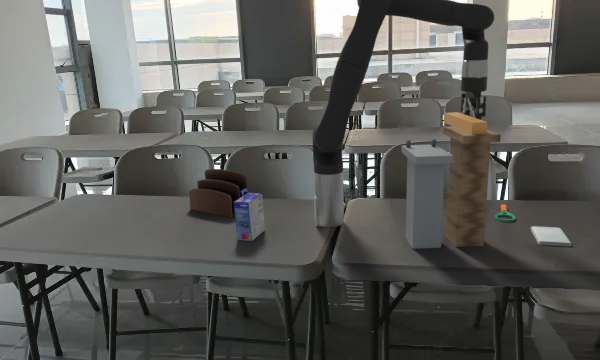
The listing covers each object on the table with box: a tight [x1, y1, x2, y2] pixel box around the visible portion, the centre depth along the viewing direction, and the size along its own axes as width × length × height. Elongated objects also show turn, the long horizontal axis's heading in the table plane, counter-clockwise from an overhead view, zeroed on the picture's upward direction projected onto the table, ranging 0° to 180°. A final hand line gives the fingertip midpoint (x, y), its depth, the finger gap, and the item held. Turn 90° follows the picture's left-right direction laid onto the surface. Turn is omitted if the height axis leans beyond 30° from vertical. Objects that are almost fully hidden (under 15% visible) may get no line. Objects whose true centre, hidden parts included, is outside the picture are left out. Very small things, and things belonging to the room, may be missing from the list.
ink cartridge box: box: [234, 188, 266, 242], centre depth 148 cm, size 10×6×14 cm, turn 161°
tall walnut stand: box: [442, 126, 502, 248], centre depth 136 cm, size 10×16×32 cm, turn 2°
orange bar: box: [443, 111, 488, 134], centre depth 136 cm, size 4×22×3 cm, turn 2°
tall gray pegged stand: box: [401, 138, 453, 250], centre depth 136 cm, size 10×16×29 cm, turn 2°
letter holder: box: [188, 168, 249, 219], centre depth 174 cm, size 10×20×14 cm, turn 58°
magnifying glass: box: [494, 204, 516, 223], centre depth 161 cm, size 15×6×2 cm, turn 160°
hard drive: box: [530, 225, 573, 248], centre depth 141 cm, size 2×8×12 cm
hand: (471, 128), depth 152 cm, fingers open, 8 cm apart
